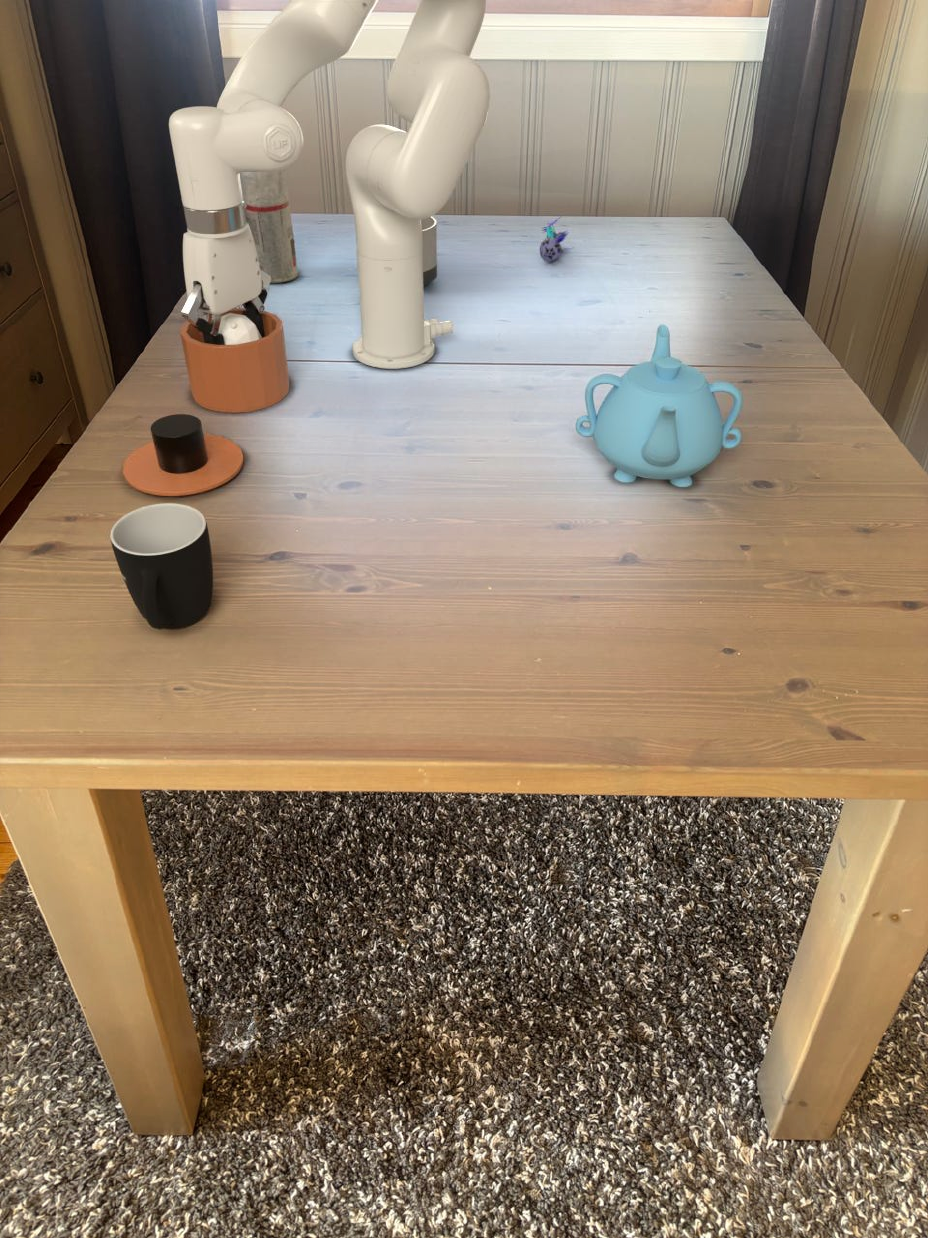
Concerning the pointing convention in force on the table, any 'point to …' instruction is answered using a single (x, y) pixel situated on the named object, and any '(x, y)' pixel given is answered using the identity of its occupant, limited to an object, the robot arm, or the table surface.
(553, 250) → the figurine
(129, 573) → the mug
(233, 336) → the ornament
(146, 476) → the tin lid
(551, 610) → the table surface
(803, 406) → the table surface
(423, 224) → the planter
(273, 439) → the table surface
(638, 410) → the teapot
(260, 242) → the spray can
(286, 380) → the orange hollow cylinder
